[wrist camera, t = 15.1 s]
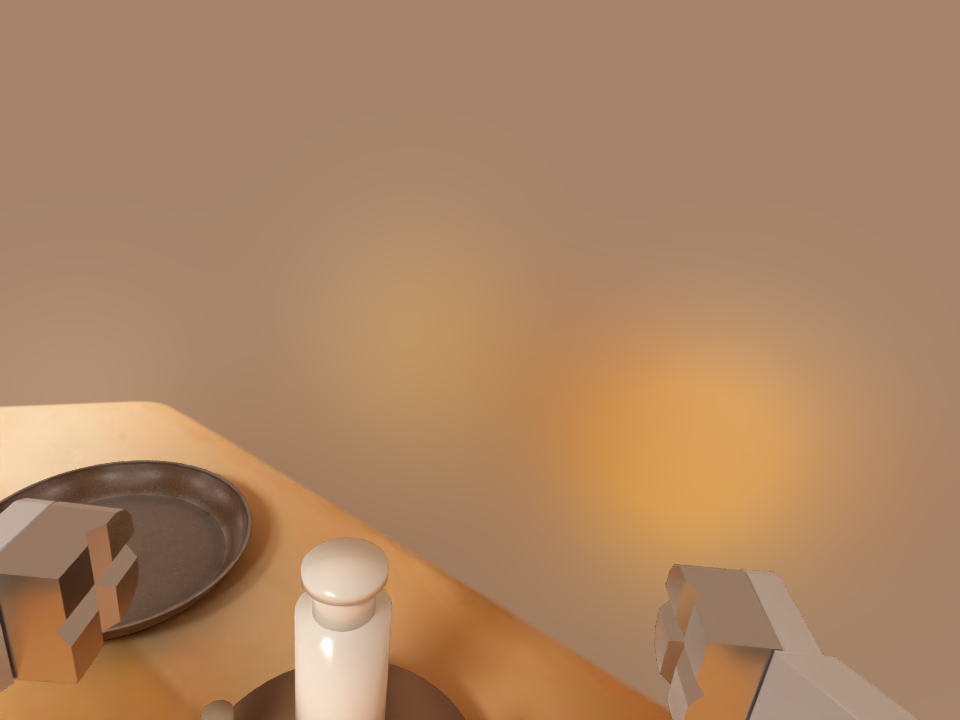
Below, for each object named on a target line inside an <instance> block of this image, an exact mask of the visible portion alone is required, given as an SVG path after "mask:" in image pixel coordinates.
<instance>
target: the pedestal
mask: <svg viewBox="0 0 960 720" xmlns="http://www.w3.org/2000/svg"><path fill="white" fill-rule="evenodd" d="M201 720H295V669H294V670H291V671H289V672H286V673H284V674H282V675H280V676H277V677H275V678H273V679H271V680H269V681H268V682H266V683H264V684H263V685H261V686H260V687H258V688H256V689H255V690H253V691H252V692H251V693H249V694H248V695H247V696H245V697H244V698H243V699H242V700H240V701H239V702H238V703H237V704H236V705H235V706H234V707H233V706H232V704H231V703H229V702H228V701H225V700H218V701H214V702H212V703H210V704H208V705H207V706H206V707H205V708H204V709H203V711H202V713H201ZM385 720H465V719H464V718H463V716H462V714H461V713H460V711H459V710H458V709H457V708H456V706H455V705H454V704H453V703H452V702H451V701H450V700H449V698H448V697H446V696H445V695H444V694H443V693H442V692H441V691H440V690H439V689H438V688H436V687H435V686H433V685H432V684H431V683H429V682H428V681H426V680H425V679H423V678H421V677H419V676H417V675H416V674H414V673H412V672H410V671H407V670H405V669H402V668H399V667H397V666H393V665H390V664H388V678H387V694H386V709H385Z"/></svg>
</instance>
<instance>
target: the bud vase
mask: <svg viewBox="0 0 960 720" xmlns="http://www.w3.org/2000/svg"><path fill="white" fill-rule="evenodd" d="M387 579H388V559H387V557H386V555H385V553H384V552H383V551H382V550H381V549H380V548H379V547H378V546H376V545H375V544H373V543H371V542H369V541H366V540H362V539H357V538H337V539H332V540H328V541H325V542H323V543H321V544H319V545H317V546H315V547H314V548H312V549H311V550H310V551H309V552H308V553H307V554H306V556H305V557H304V559H303V561H302V564H301V583H302V586H303V588H304V590H305V591H304V592H303V593H302V594H301V596H300V597H299V599H298V601H297V603H296V606H295V720H385V709H386V694H387V678H388V663H389V648H390V633H391V618H392V602H391V599H390V597H389V595H388V593H387V592H386V590H385V589H384V587H385V585H386V582H387Z"/></svg>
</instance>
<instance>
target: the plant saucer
mask: <svg viewBox="0 0 960 720" xmlns="http://www.w3.org/2000/svg"><path fill="white" fill-rule="evenodd" d="M24 498H31V499H40V500H49V501H55V502H59V501H61V502H69V503H77V504H85V505H93V506H102V507H110V508H118V509H125V510H126V511H127V512H129V513H130V514H131V515H132V521H133V527H134V534H133V535H132V537H131V538H130V539H129V541H128V542H127V543H126V545H127V546H128V547H129V548H130V549H131V550H132V551H133V553H134V554H135V555H136V556H137V557H138V566H139V575H138V585H137V589H136V592H135V594H134V597H133V600H132V603H131V606H130V607H129V609H128V610H127V612H126V614H125V615H124V617H123V618H122V620H121V621H120V622H118V623H117V624H115V625H113V626H112V627H110V628H108V629H106V630H105V631H103V632H102V636H103V640H106V639H111V638H115V637H120V636H124V635H128V634H131V633H134V632H137V631H140V630H143V629H146V628H149V627H151V626H154V625H156V624H159V623H161V622H163V621H165V620H167V619H169V618H171V617H173V616H175V615H176V614H178V613H180V612H182V611H183V610H185V609H187V608H188V607H190V606H191V605H193V604H194V603H196V602H197V601H198V600H200V599H201V598H202V597H204V596H205V595H206V594H207V593H208V592H210V591H211V590H212V589H213V588H214V587H215V586H216V585H217V584H218V583H219V582H220V581H221V580H222V579H223V578H224V577H225V576H226V575H227V574H228V572H229V571H230V570H231V569H232V568H233V566H234V565H235V564H236V562H237V561H238V559H239V558H240V556H241V554H242V553H243V551H244V549H245V547H246V545H247V543H248V540H249V537H250V533H251V525H252V519H251V512H250V508H249V506H248V503H247V501H246V500H245V498H244V496H243V495H242V494H241V492H240V491H239V490H238V489H237V488H236V487H235V486H234V485H233V484H231V483H230V482H228V481H227V480H225V479H224V478H222V477H221V476H219V475H217V474H215V473H212V472H210V471H207V470H205V469H202V468H198V467H195V466H191V465H186V464H182V463H175V462H167V461H151V460H136V461H121V462H112V463H105V464H99V465H94V466H89V467H84V468H80V469H76V470H72V471H69V472H65V473H62V474H58V475H56V476H53V477H50V478H47V479H44V480H42V481H39V482H37V483H34V484H32V485H30V486H28V487H25V488H23V489H21V490H19V491H18V492H16V493H14V494H12V495H10V496H8V497H6V498H5V499H3V500H2V501H0V514H1V513H2V512H3V511H4V510H5V509H6V508H8V507H9V506H10V505H11V504H12V503H13V502H14V501H17V500H20V499H24Z"/></svg>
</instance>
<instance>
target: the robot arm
mask: <svg viewBox="0 0 960 720" xmlns="http://www.w3.org/2000/svg"><path fill="white" fill-rule="evenodd" d="M133 534H134V527H133V521H132V515H131V514H130V513H129V512H127V511H126V510H125V509H118V508H110V507H102V506H93V505H85V504H77V503H69V502H61V501H59V502H55V501H49V500H40V499H31V498H24V499H20V500H17V501H14V502H13V503H12V504H11V505H10V506H9V507H8V508H6V509H5V510H4V511H3V512H2V513H1V514H0V692H1V691H3V690H4V689H6V688H7V687H9V686H10V685H12V684H13V683H14V679H15V680H30V681H46V682H61V683H76V684H78V682H79V681H80V679H81V678H82V677H83V675H84V674H85V672H86V671H87V669H88V668H89V666H90V665H91V664H92V662H93V661H94V659H95V658H96V656H97V655H98V653H99V652H100V650H101V649H102V648H103V646H104V643H103V636H102V632H103V631H105V630H106V629H108V628H110V627H112V626H113V625H115V624H117V623H118V622H120V621H121V620H122V618H123V617H124V615H125V614H126V612H127V610H128V609H129V607H130V606H131V603H132V600H133V597H134V594H135V592H136V589H137V585H138V575H139V566H138V557H137V556H136V555H135V554H134V553H133V551H132V550H131V549H130V548H129V547H128V546H127V545H126V543H127V542H128V541H129V539H130V538H131V537H132V535H133ZM666 588H667V591H668V594H669V598H670V600H669V601H668V602H666V603H665V604H664V605H663V606H662V607H660V608H659V613H658V617H657V621H656V626H655V652H656V660H657V664H658V668H659V672H660V674H661V675H662V676H663V677H664V678H665V679H666V680H667V681H668V682H669V683H670V684H671V686H670V689H669V693H668V697H667V702H668V706H669V710H670V713H671V717H672V720H918V719H917V718H916V717H914V716H913V715H912V714H910V713H909V712H908V711H906V710H905V709H904V708H902V707H901V706H900V705H898V704H897V703H896V702H894V701H893V700H892V699H890V698H889V697H888V696H886V695H885V694H884V693H882V692H881V691H880V690H878V689H877V688H876V687H874V686H873V685H872V684H870V683H869V682H868V681H866V680H865V679H864V678H862V677H861V676H860V675H858V674H857V673H856V672H854V671H853V670H852V669H850V668H849V667H848V666H846V665H845V664H844V663H842V662H841V661H840V660H839V659H837V658H836V657H835V656H826V655H823V653H822V651H821V649H820V648H819V646H818V644H817V642H816V640H815V639H814V637H813V635H812V633H811V631H810V630H809V628H808V626H807V624H806V622H805V621H804V619H803V617H802V615H801V613H800V612H799V610H798V608H797V606H796V604H795V603H794V601H793V599H792V597H791V596H790V594H789V592H788V590H787V588H786V587H785V585H784V583H783V581H782V579H781V578H780V576H778V575H777V574H776V573H775V572H772V571H758V570H744V569H740V570H732V569H721V568H711V567H700V566H690V565H679V564H674V565H673V566H672V568H671V570H670V571H669V575H668V578H667V582H666Z"/></svg>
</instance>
